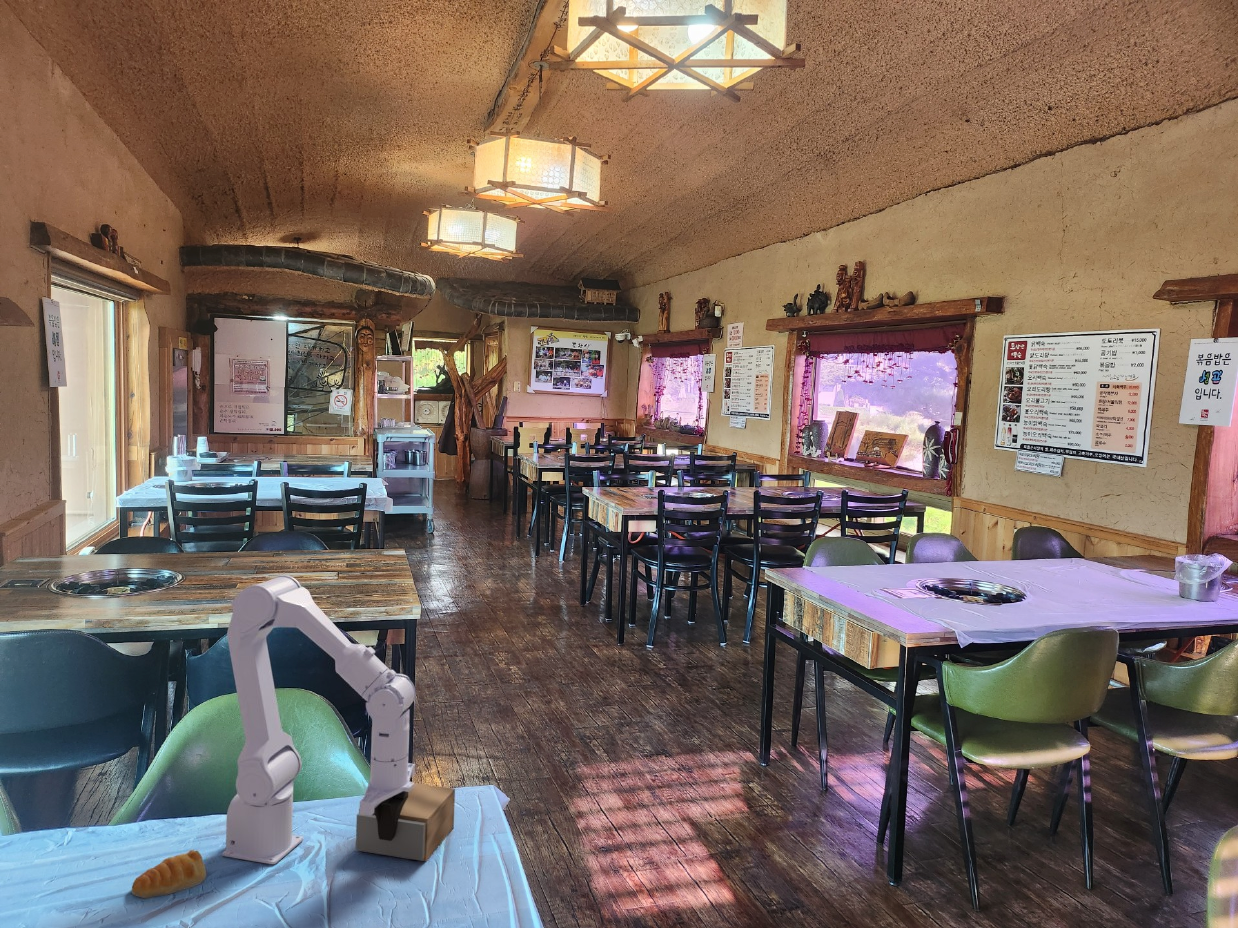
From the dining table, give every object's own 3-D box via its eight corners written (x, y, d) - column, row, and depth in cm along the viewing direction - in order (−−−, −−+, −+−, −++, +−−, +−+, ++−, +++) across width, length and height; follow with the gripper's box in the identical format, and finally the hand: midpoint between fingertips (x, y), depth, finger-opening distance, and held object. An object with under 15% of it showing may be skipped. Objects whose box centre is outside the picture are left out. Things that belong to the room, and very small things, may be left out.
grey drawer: (422, 860, 125) (423, 824, 125) (355, 849, 128) (356, 814, 127) (449, 827, 136) (450, 794, 136) (387, 818, 138) (388, 786, 138)
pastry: (140, 908, 112) (140, 882, 112) (124, 889, 116) (125, 863, 116) (210, 882, 119) (210, 857, 119) (192, 864, 123) (193, 840, 123)
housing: (426, 861, 126) (427, 818, 126) (357, 850, 129) (359, 808, 128) (453, 827, 137) (454, 788, 137) (390, 818, 140) (391, 779, 139)
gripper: (391, 777, 117) (388, 866, 118) (432, 740, 131) (430, 819, 132) (347, 770, 119) (345, 858, 119) (393, 735, 133) (391, 813, 133)
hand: (387, 838), depth 126 cm, fingers closed
